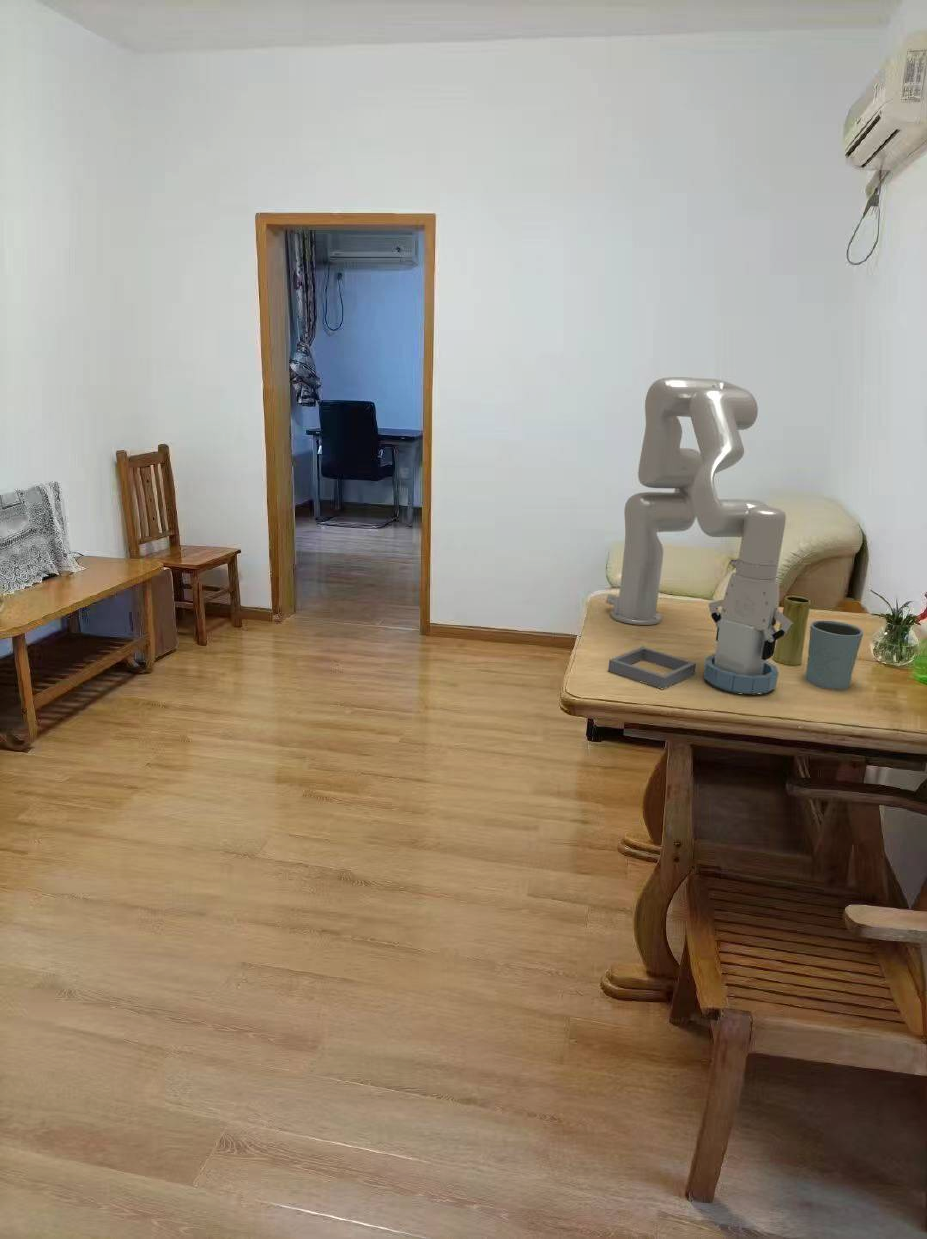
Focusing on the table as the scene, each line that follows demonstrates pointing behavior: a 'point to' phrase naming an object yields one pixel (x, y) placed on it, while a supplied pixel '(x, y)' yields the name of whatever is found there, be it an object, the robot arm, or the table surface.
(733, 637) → the supplement box
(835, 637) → the blue-grey cup
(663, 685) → the gray square frame
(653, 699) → the table surface
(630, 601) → the robot arm
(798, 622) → the vase
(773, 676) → the bowl
